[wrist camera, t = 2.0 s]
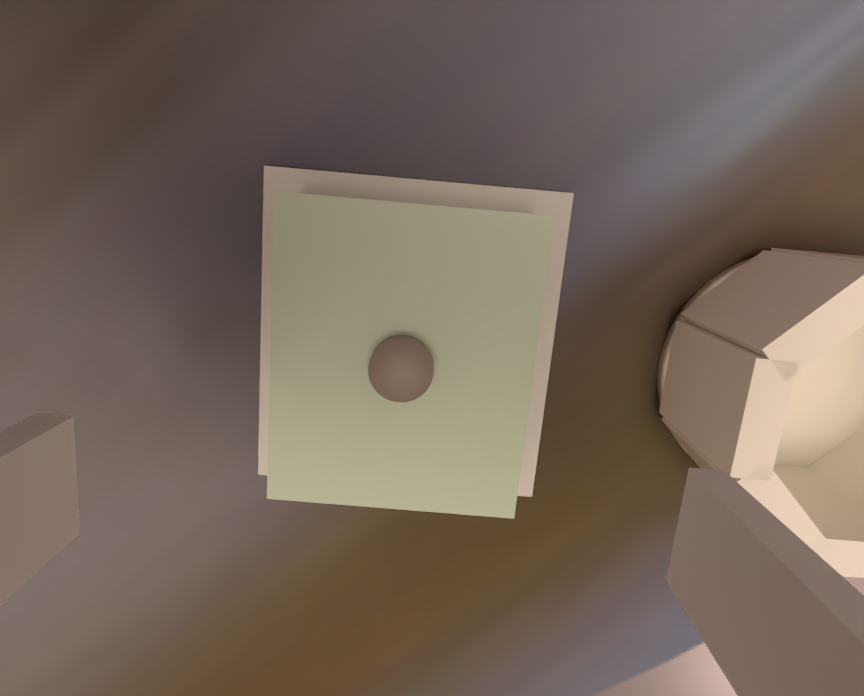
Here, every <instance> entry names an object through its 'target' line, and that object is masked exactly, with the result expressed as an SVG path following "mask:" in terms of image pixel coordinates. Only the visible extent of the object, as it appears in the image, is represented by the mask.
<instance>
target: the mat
mask: <svg viewBox="0 0 864 696" xmlns="http://www.w3.org/2000/svg"><path fill="white" fill-rule="evenodd" d="M274 191H278V192H290V193H301V194H312V195H324V196H335V197H346V198H357V199H369V200H380V201H391V202H402V203H414V204H425V205H436V206H448V207H459V208H470V209H481V210H493V211H504V212H515V213H526V214H538V215H549V216H554V219H553V227H552V234H551V242H550V250H549V257H548V265H547V273H546V280H545V288H544V295H543V303H542V311H541V318H540V326H539V333H538V341H537V349H536V356H535V364H534V372H533V379H532V387H531V394H530V402H529V410H528V417H527V425H526V432H525V440H524V448H523V455H522V463H521V471H520V478H519V486H518V493H517V496H529V497H532V493H533V486H534V479H535V472H536V464H537V457H538V450H539V443H540V435H541V428H542V421H543V414H544V406H545V399H546V392H547V385H548V377H549V370H550V363H551V355H552V348H553V341H554V334H555V326H556V319H557V312H558V305H559V297H560V290H561V283H562V276H563V268H564V261H565V254H566V247H567V239H568V232H569V225H570V218H571V210H572V203H573V196H574V193H566V192H554V191H543V190H532V189H521V188H510V187H498V186H487V185H476V184H465V183H454V182H442V181H431V180H420V179H409V178H398V177H387V176H375V175H364V174H353V173H342V172H331V171H319V170H308V169H297V168H286V167H275V166H264V185H263V239H262V292H261V345H260V399H259V452H258V475H267V474H268V430H269V386H270V342H271V298H272V255H273V211H274Z"/></svg>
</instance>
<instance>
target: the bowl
mask: <svg viewBox="0 0 864 696" xmlns="http://www.w3.org/2000/svg"><path fill="white" fill-rule="evenodd" d="M657 387H658V397H659V403H660V410H659V413H660V414H661V415H662V416H663V418H661V420H662V421H663V423H664V424H665V425H666V426H667V428H668V429H669V430H670V432H671V434H672V435H673V437H674V438H675V440H676V441H677V443H678V444H679V445H680V446H681V447H682V448H683V449H684V451H685V452H686V453H687V454H688V455H689V456H690V457H691V458H692V459H693V460H694V462H695V463H696V464H697V465H698V467H699V468H700V469H712V470H724V471H725V472H726V473H728V474H729V475H730V476H731V477H732V478H733V479H734V480H735V481H736V482H738V483H739V484H740V485H741V486H742V487H743V488H744V489H745V490H746V491H748V492H749V493H750V494H751V495H752V496H753V497H754V498H755V499H757V500H758V501H759V502H760V503H761V504H762V505H763V506H764V507H765V508H767V509H768V510H769V511H770V512H771V513H772V514H773V515H774V516H775V517H777V518H778V519H779V520H780V521H781V522H782V523H783V524H784V525H785V526H787V527H788V528H789V529H790V530H791V531H792V532H793V533H794V534H796V535H797V536H798V537H799V538H800V539H801V540H802V541H803V542H804V543H806V544H807V545H808V546H809V547H810V548H811V549H812V550H813V551H814V552H816V553H817V554H818V555H819V556H820V557H821V558H822V559H823V560H825V561H826V562H827V563H828V564H829V565H830V566H831V567H832V568H833V569H835V570H836V571H837V572H838V573H839V574H840V575H841V576H847V577H859V578H860V577H861V578H864V256H860V255H848V254H837V253H826V252H816V251H808V250H792V249H780V248H771V251H767V250H763V251H762V252H761V253H759V254H758V255H757V256H755V257H752V258H749V259H747V260H744V261H741V262H739V263H737V264H735V265H733V266H731V267H729V268H728V269H726V270H724V271H723V272H721V273H720V274H718V275H717V276H715V277H714V278H712V279H711V280H710V281H708V282H707V283H706V284H705V285H704V286H703V287H701V288H700V289H699V290H698V291H697V292H696V293H695V294H694V295H693V296H692V298H691V299H690V300H689V301H688V302H687V303H686V304H685V306H684V307H683V309H682V310H681V311H680V313H679V314H678V316H677V317H676V319H675V321H674V323H673V324H672V326H671V328H670V330H669V332H668V334H667V337H666V339H665V342H664V345H663V348H662V352H661V356H660V360H659V366H658V375H657Z"/></svg>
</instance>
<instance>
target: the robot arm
mask: <svg viewBox="0 0 864 696" xmlns="http://www.w3.org/2000/svg"><path fill="white" fill-rule="evenodd" d="M79 534H80V527H79V508H78V490H77V471H76V452H75V433H74V416H65V415H53V414H41V413H37V414H35V415H33V416H31V417H29V418H27V419H25V420H23V421H21V422H19V423H17V424H15V425H13V426H11V427H9V428H7V429H5V430H3V431H1V432H0V605H1V604H3V603H4V602H5V601H6V600H7V599H8V598H9V597H10V596H11V595H13V594H14V593H15V592H16V591H17V590H18V589H19V588H20V587H21V586H23V585H24V584H25V583H26V582H27V581H28V580H29V579H30V578H31V577H32V576H34V575H35V574H36V573H37V572H38V571H39V570H40V569H41V568H42V567H44V566H45V565H46V564H47V563H48V562H49V561H50V560H51V559H52V558H53V557H55V556H56V555H57V554H58V553H59V552H60V551H61V550H62V549H63V548H65V547H66V546H67V545H68V544H69V543H70V542H71V541H72V540H73V539H75V538H76V537H77V536H78V535H79ZM666 581H667V583H668V585H669V586H670V588H671V589H672V591H673V593H674V594H675V596H676V597H677V599H678V601H679V602H680V604H681V605H682V607H683V609H684V610H685V612H686V613H687V615H688V617H689V618H690V620H691V621H692V623H693V625H694V626H695V628H696V629H697V631H698V633H699V634H700V636H701V637H702V639H703V641H704V642H705V644H706V646H707V647H708V649H709V650H710V652H711V654H712V655H713V656H714V658H715V660H716V662H717V663H718V665H719V666H720V668H721V670H722V671H723V673H724V674H725V676H726V678H727V679H728V681H729V682H730V684H731V686H732V687H733V689H734V690H735V692H736V693H737V695H738V696H864V596H863V595H862V594H861V593H860V592H859V591H858V590H857V589H856V588H855V587H853V586H852V585H851V584H850V583H849V582H848V581H847V580H846V579H845V578H843V577H842V576H841V575H840V574H839V573H838V572H837V571H836V570H835V569H833V568H832V567H831V566H830V565H829V564H828V563H827V562H826V561H825V560H823V559H822V558H821V557H820V556H819V555H818V554H817V553H816V552H814V551H813V550H812V549H811V548H810V547H809V546H808V545H807V544H806V543H804V542H803V541H802V540H801V539H800V538H799V537H798V536H797V535H796V534H794V533H793V532H792V531H791V530H790V529H789V528H788V527H787V526H785V525H784V524H783V523H782V522H781V521H780V520H779V519H778V518H777V517H775V516H774V515H773V514H772V513H771V512H770V511H769V510H768V509H767V508H765V507H764V506H763V505H762V504H761V503H760V502H759V501H758V500H757V499H755V498H754V497H753V496H752V495H751V494H750V493H749V492H748V491H746V490H745V489H744V488H743V487H742V486H741V485H740V484H739V483H738V482H736V481H735V480H734V479H733V478H732V477H731V476H730V475H729V474H728V473H726V472H725V471H724V470H712V469H700V468H689V469H688V474H687V479H686V484H685V489H684V494H683V499H682V504H681V509H680V515H679V520H678V525H677V530H676V535H675V540H674V545H673V550H672V555H671V560H670V565H669V570H668V575H667V580H666Z"/></svg>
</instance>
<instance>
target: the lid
mask: <svg viewBox="0 0 864 696" xmlns="http://www.w3.org/2000/svg"><path fill="white" fill-rule="evenodd" d="M553 219H554V216H549V215H538V214H526V213H515V212H504V211H493V210H481V209H470V208H459V207H448V206H436V205H425V204H414V203H402V202H391V201H380V200H369V199H357V198H346V197H335V196H324V195H312V194H301V193H290V192H278V191H274V211H273V255H272V298H271V342H270V386H269V430H268V474H267V499H277V500H289V501H302V502H314V503H326V504H339V505H351V506H364V507H376V508H389V509H401V510H414V511H426V512H438V513H451V514H463V515H476V516H488V517H501V518H513V519H514V516H515V509H516V501H517V493H518V486H519V478H520V471H521V463H522V455H523V448H524V440H525V432H526V425H527V417H528V410H529V402H530V394H531V387H532V379H533V372H534V364H535V356H536V349H537V341H538V333H539V326H540V318H541V311H542V303H543V295H544V288H545V280H546V273H547V265H548V257H549V250H550V242H551V234H552V227H553Z"/></svg>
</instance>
